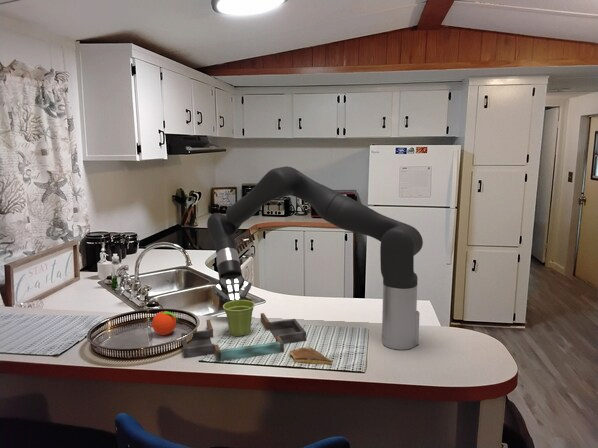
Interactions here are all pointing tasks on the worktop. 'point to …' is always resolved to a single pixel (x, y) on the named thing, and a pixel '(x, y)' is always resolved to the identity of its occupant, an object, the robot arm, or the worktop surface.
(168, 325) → the clementine
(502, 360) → the worktop surface
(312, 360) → the shard
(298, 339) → the two-trap channel
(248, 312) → the plant pot
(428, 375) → the worktop surface
